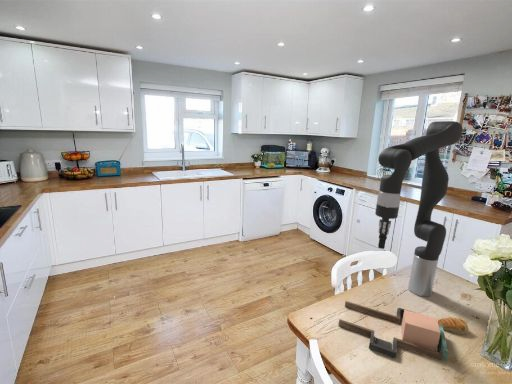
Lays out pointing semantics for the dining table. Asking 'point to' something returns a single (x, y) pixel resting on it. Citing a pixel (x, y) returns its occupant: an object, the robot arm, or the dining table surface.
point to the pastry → (454, 325)
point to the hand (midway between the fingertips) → (381, 247)
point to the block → (420, 330)
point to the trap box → (385, 346)
